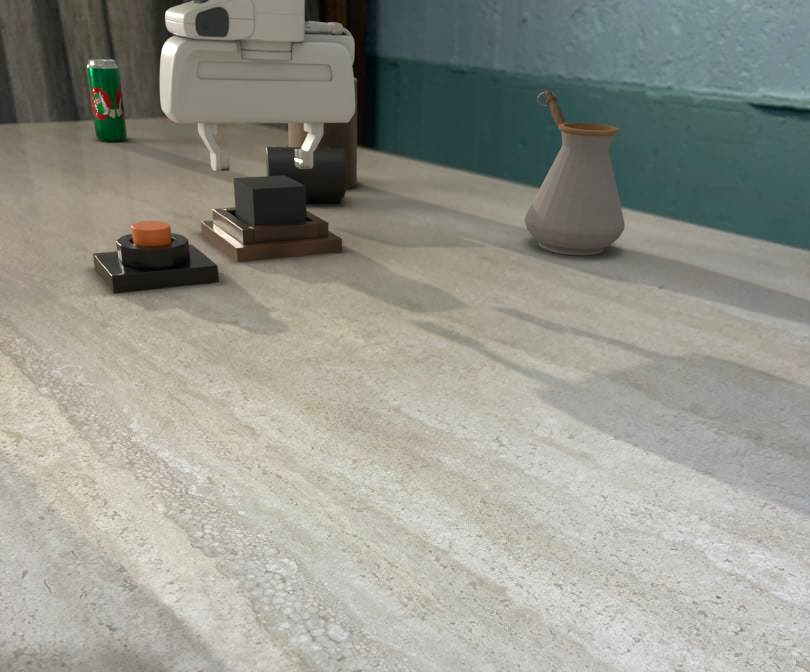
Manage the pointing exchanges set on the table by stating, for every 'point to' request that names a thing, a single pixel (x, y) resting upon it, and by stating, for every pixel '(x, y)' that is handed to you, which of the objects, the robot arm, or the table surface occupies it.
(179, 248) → the dark piece
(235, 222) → the tray
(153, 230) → the button
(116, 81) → the soda can
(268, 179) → the black block
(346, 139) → the pillar candle
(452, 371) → the table surface
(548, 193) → the coffee pot
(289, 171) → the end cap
